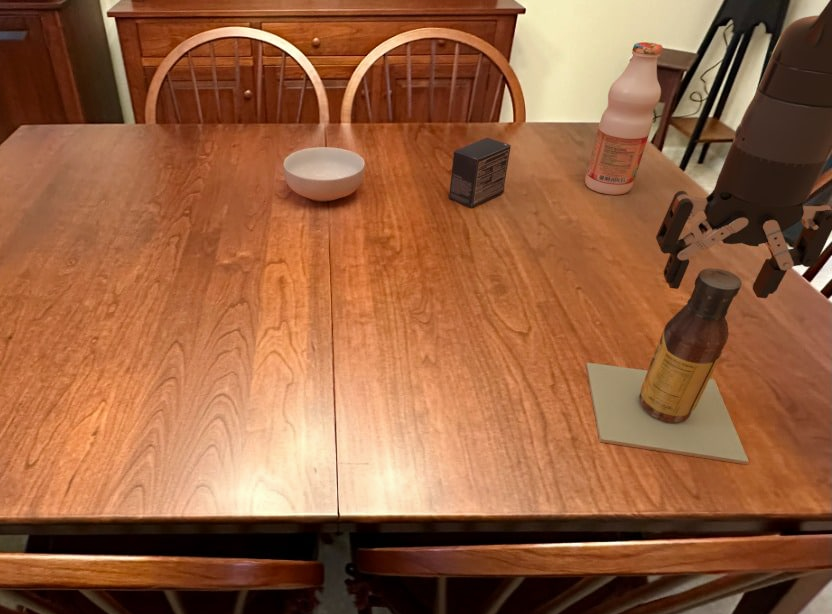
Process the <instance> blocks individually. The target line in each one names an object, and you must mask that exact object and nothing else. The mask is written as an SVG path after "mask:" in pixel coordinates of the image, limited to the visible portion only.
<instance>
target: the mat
mask: <svg viewBox="0 0 832 614" xmlns="http://www.w3.org/2000/svg"><path fill="white" fill-rule="evenodd" d="M585 368H586V374H587V379H588V385H589V390H590V396H591V402H592V405H593V406H592V407H593V414H594V419H595V423H596V429H597V435H598V441H599V443H603V444H611V445H617V446H621V447H622V446H623V447H629V448H636V449H642V450H649V451H655V452H662V453H668V454H674V455H682V456H688V457H695V458H700V459H707V460H708V459H709V460H712V461H713V460H714V461H720V462H728V463H734V464H740V465H749V462H750V460H749V458H748V455H747V453H746V451H745V449H744V446H743V444H742V441H741V439H740V436H739V434H738V432H737V430H736V427H735V425H734V422H733V420H732V418H731V415H730V412H729V411H728V408H727V406H726V403H725V401H724V399H723V396H722V394H721V391H720V388H719V387H718V383H717V382H716V379H715V378H710V379H709V381H708V383H707V385H706V388H705V390H704V392H703V394H702V396H701V398H700V400H699V402H698V404H697V406H696V408H695V409H694V410H693V411H692V412H691V414H690V416H689V418H687V419H686V420H685V421H680V422H665V421H662V420H659V419H658V418H655V417H653V416H652V415H650V414H649V413H648V412H647V411H645V410H644V408H643V407H642V405H641V403H640V398H639V395H640V392H641V386H642V384H643V381H644V379H645V376H646V374H647V371H648V369H642V368H641V369H640V368H632V367H624V366H617V365H609V364H602V363H595V362H594V363H593V362H586V364H585Z"/></svg>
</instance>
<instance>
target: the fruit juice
mask: <svg viewBox="0 0 832 614" xmlns="http://www.w3.org/2000/svg"><path fill="white" fill-rule="evenodd" d="M662 53H663V45H662V44H660V43H655V42H649V41H647V42H645V41H644V42H643V41H642V42H636V43H634V45H633V47H632V50H631V54H632V56H631V59H630V60H629V63H628V64H627V66H626V67H625V69H624V70H623V72H622V73H621V74H620V76H618V78H617V79H616V80H615V81H614V82H613V83H612V84H611V85H610V88H609V89H608V94H607V107H606V109H605V110H604V112H603V113H602V115H601V118H600V120H599V124H598V128H597V132H596V135H595V139H594V143H593V146H592V150H591V154H590V158H589V162H588V165H587V169H586V173H585V176H584V184H585V186H586V187H587V188H588V189H590V190H592V191H594V192H596V193H600V194H605V195H617V196H618V195H624V194H627V193H629V192H630V191H631V189H632V188H633V185H634V183H635V179H636V177H637V173H638V170H639V167H640V164H641V161H642V158H643V156H644V155H643V154H644V151H645V149H646V145H647V143H648V139H649V137H650V133H651V130H652V127H653V126H652V125H653V121H654V117H653V112H654V110H655V108H656V107H657V105H658V103H659V102H660V100H661V95H662V88H661V85H660V83H659V80H658V70H657V69H658V59H659V57H661V54H662Z"/></svg>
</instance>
